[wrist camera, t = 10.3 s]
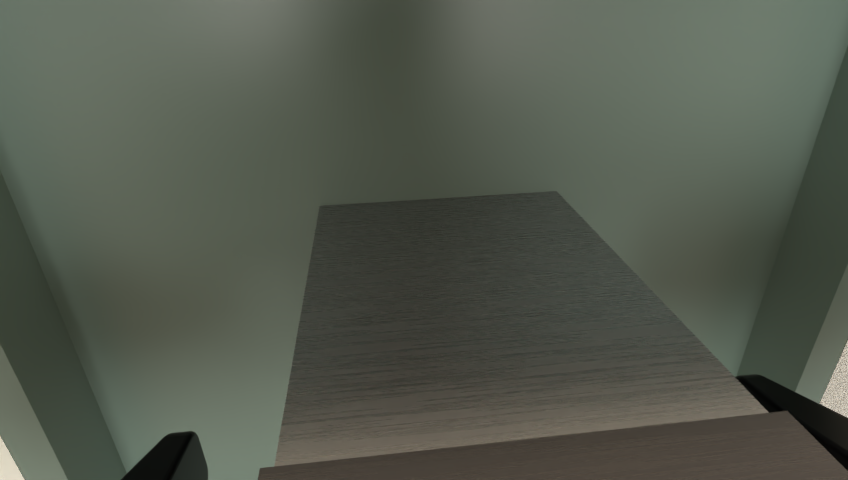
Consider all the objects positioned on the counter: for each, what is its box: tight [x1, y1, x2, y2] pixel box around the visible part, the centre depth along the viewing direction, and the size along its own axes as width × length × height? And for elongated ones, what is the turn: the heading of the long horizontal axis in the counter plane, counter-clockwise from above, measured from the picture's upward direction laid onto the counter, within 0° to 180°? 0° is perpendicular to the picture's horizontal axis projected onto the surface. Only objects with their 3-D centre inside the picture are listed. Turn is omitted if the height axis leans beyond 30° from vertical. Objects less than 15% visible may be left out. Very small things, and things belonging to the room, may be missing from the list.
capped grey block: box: [258, 191, 848, 480], centre depth 9 cm, size 5×5×7 cm
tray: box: [0, 0, 848, 480], centre depth 11 cm, size 18×16×2 cm
